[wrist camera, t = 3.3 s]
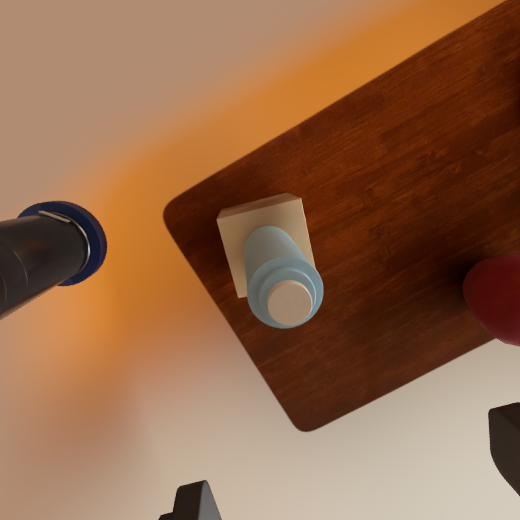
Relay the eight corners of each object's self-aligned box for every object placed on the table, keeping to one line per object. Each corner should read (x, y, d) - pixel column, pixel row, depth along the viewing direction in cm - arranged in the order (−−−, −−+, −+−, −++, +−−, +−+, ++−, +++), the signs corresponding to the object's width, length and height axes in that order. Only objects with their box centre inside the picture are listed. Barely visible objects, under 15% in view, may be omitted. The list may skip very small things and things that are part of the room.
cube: (238, 271, 45) (238, 298, 36) (221, 209, 43) (216, 219, 33) (300, 256, 45) (317, 278, 36) (287, 192, 43) (301, 198, 33)
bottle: (250, 278, 35) (259, 351, 21) (238, 232, 34) (238, 276, 19) (297, 266, 35) (338, 331, 21) (287, 220, 34) (323, 255, 19)
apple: (521, 234, 47) (629, 258, 34) (519, 308, 50) (617, 355, 37) (440, 251, 46) (518, 280, 34) (443, 323, 49) (515, 376, 37)
